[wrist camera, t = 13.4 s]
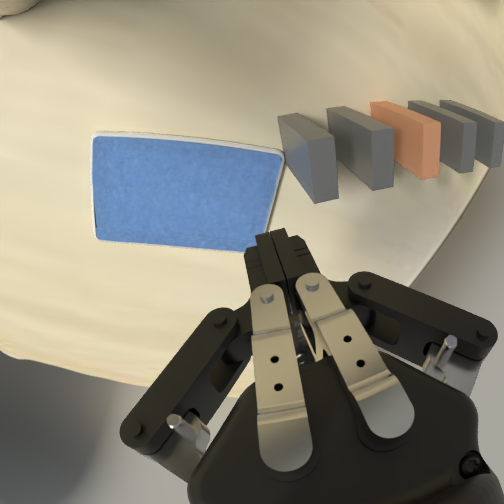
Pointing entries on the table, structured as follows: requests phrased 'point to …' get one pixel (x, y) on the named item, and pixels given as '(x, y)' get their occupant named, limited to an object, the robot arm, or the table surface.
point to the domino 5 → (482, 133)
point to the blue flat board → (181, 190)
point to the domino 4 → (452, 135)
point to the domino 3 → (411, 138)
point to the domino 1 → (310, 156)
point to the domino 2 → (363, 146)
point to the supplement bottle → (300, 342)
